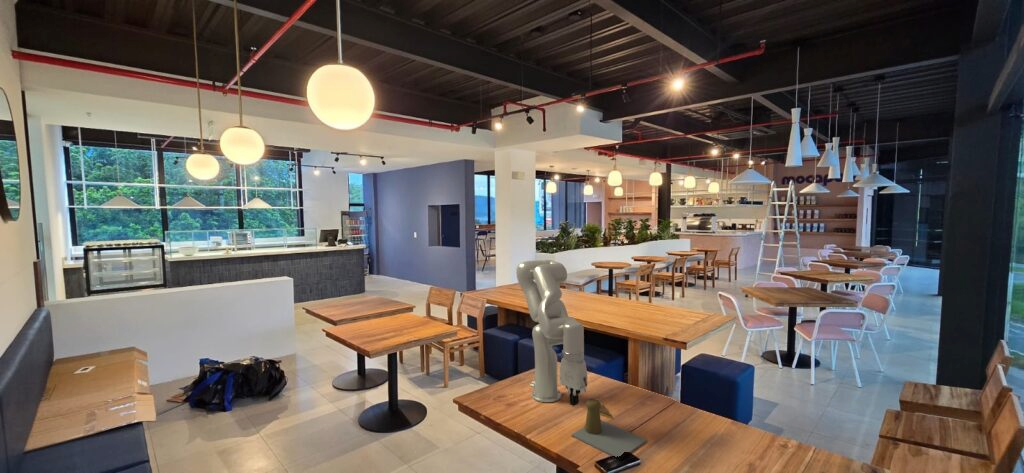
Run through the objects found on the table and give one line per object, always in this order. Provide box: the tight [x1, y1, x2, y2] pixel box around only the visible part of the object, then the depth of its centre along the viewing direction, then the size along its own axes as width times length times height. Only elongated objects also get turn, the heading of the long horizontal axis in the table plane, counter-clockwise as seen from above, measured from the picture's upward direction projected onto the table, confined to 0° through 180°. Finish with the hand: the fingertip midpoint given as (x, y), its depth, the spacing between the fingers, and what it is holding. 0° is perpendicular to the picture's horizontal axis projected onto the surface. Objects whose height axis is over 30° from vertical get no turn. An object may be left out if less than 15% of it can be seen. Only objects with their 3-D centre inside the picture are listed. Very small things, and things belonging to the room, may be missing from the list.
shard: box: [599, 403, 613, 419], centre depth 165 cm, size 11×8×2 cm
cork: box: [584, 398, 602, 434], centre depth 151 cm, size 6×6×11 cm
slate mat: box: [570, 419, 648, 457], centre depth 146 cm, size 20×16×1 cm
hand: (574, 404), depth 157 cm, fingers closed
